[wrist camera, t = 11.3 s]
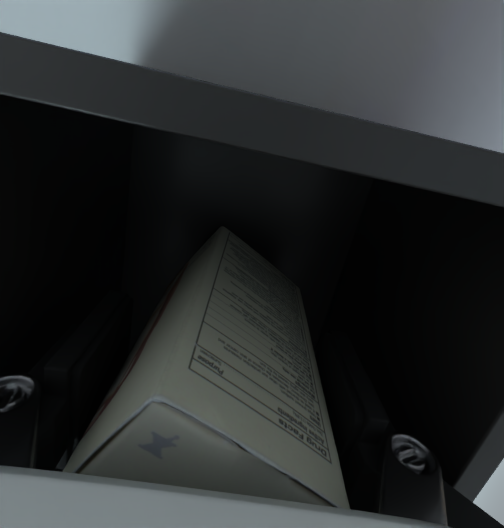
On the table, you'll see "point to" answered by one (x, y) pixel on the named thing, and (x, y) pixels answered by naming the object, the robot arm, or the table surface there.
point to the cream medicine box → (220, 389)
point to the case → (257, 228)
